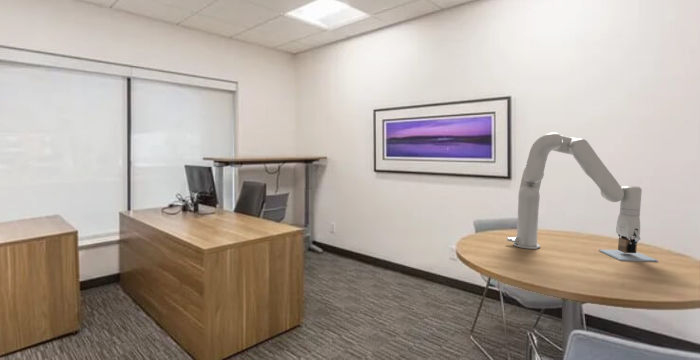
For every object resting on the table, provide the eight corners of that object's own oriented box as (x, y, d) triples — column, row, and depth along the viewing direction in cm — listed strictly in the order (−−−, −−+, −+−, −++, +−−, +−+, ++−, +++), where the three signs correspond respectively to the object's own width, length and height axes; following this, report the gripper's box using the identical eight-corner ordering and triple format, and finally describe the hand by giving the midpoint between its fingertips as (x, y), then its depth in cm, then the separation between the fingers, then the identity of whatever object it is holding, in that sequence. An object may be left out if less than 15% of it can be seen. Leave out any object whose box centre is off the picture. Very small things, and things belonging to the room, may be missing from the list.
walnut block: (624, 252, 171) (625, 240, 170) (617, 250, 176) (618, 237, 175) (636, 253, 170) (637, 240, 170) (628, 250, 175) (629, 237, 175)
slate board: (620, 260, 166) (620, 259, 166) (598, 251, 182) (598, 249, 182) (657, 261, 165) (657, 260, 165) (632, 251, 181) (633, 250, 181)
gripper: (609, 209, 180) (607, 245, 182) (633, 215, 163) (630, 255, 165) (626, 209, 180) (623, 246, 181) (651, 215, 163) (648, 256, 164)
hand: (627, 250), depth 173 cm, fingers closed on walnut block, 4 cm apart
